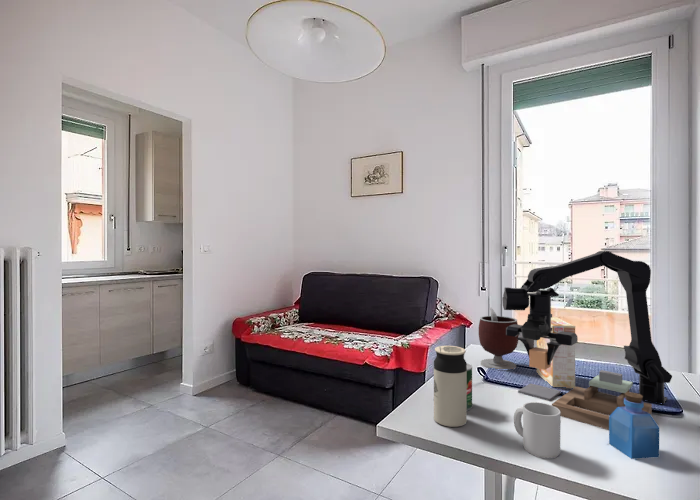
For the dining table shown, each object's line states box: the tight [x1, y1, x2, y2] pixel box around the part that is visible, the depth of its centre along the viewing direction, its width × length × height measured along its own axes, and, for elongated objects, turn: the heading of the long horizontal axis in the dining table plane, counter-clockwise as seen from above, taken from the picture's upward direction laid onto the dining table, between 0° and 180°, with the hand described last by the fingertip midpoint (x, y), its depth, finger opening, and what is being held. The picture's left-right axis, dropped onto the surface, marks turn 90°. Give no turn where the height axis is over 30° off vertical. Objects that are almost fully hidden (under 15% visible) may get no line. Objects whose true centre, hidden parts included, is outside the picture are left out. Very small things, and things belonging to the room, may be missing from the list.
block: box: [528, 346, 551, 370], centre depth 118 cm, size 4×4×5 cm
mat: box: [517, 383, 562, 402], centre depth 118 cm, size 9×9×1 cm
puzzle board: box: [551, 385, 653, 431], centre depth 103 cm, size 19×18×5 cm
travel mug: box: [433, 345, 468, 428], centre depth 99 cm, size 8×8×18 cm
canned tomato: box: [467, 363, 473, 411], centre depth 109 cm, size 8×8×11 cm
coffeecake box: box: [536, 316, 576, 389], centre depth 129 cm, size 15×7×20 cm, turn 172°
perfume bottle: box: [608, 391, 660, 460], centre depth 85 cm, size 6×6×12 cm
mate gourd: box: [478, 307, 519, 370], centre depth 146 cm, size 16×14×20 cm
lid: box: [588, 369, 634, 394], centre depth 109 cm, size 8×8×4 cm
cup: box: [513, 401, 561, 459], centre depth 86 cm, size 7×10×9 cm
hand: (540, 362), depth 118 cm, fingers closed on block, 4 cm apart
